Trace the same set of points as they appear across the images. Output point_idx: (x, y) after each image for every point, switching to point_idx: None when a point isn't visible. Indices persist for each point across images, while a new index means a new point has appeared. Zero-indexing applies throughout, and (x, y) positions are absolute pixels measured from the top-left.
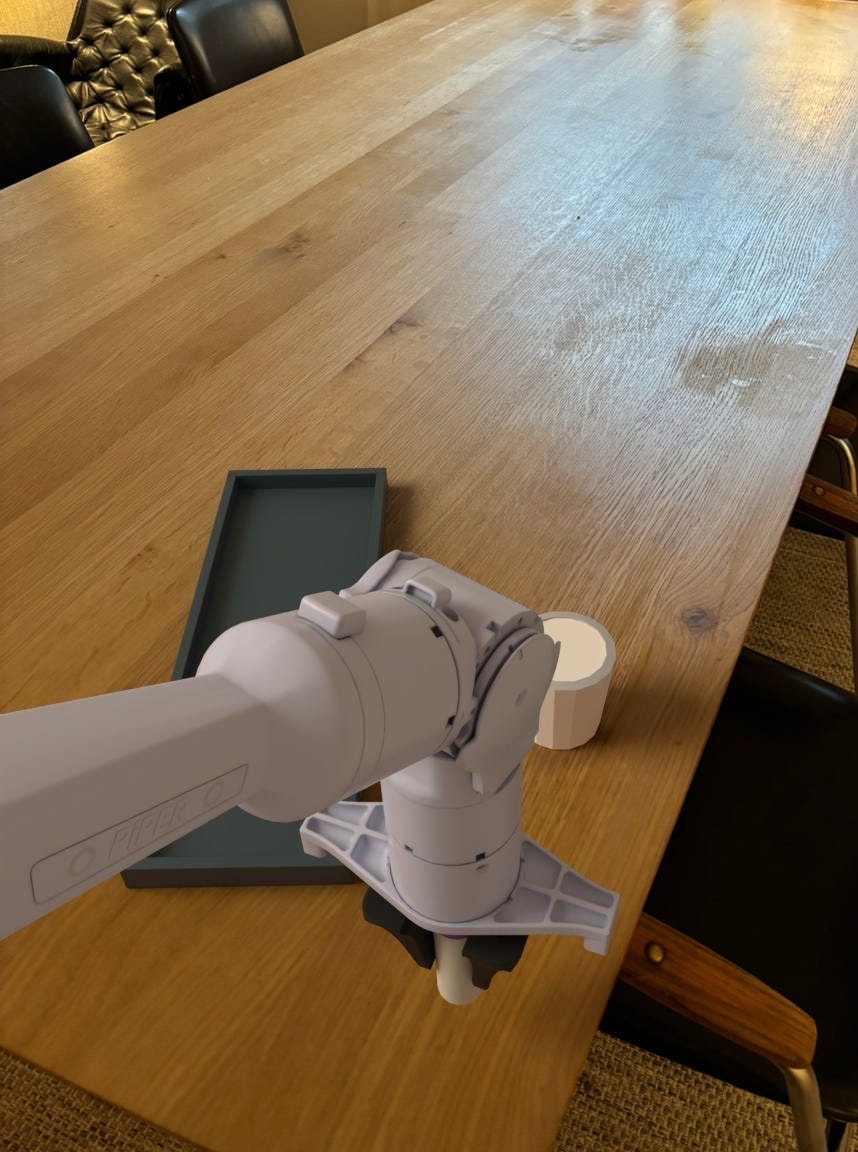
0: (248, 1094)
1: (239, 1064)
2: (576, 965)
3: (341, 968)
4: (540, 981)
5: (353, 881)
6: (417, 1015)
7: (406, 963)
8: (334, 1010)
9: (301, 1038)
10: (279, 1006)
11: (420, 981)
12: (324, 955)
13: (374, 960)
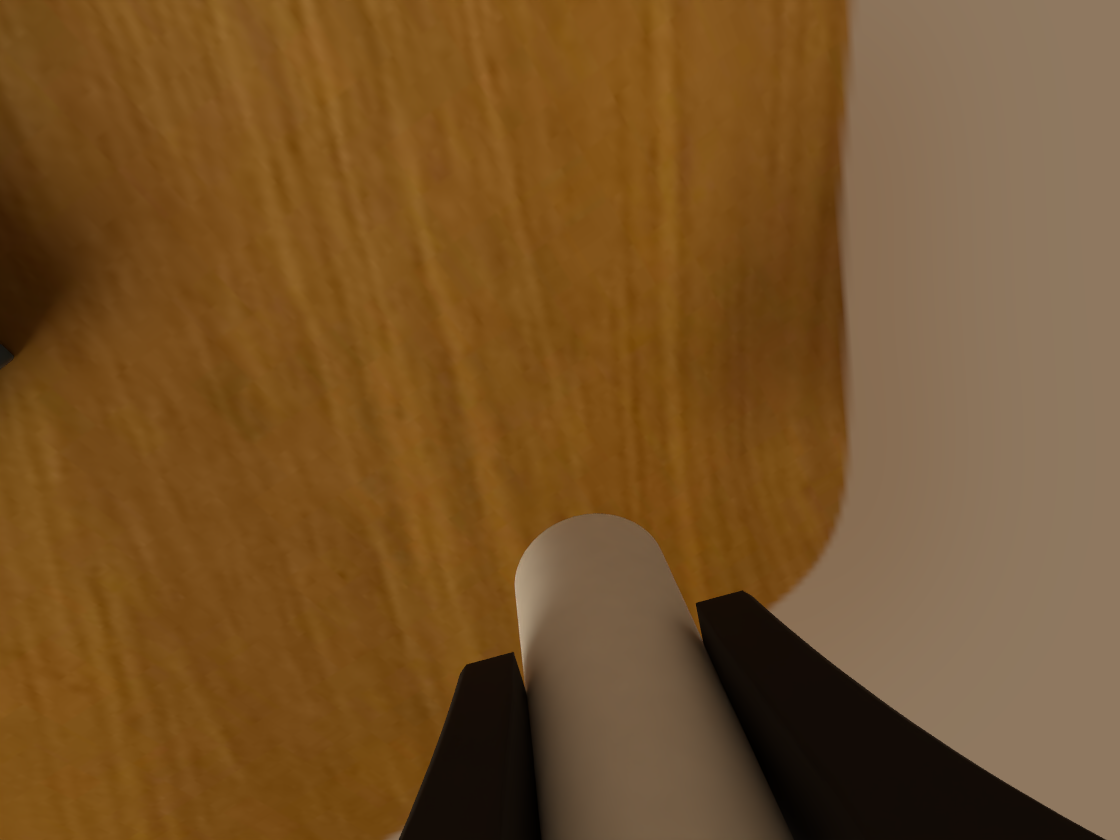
0: (275, 825)
1: (209, 807)
2: (766, 175)
3: (214, 555)
4: (694, 278)
5: (8, 351)
6: (463, 530)
7: (347, 449)
8: (285, 631)
9: (273, 709)
10: (170, 695)
11: (412, 464)
12: (147, 557)
13: (268, 492)
